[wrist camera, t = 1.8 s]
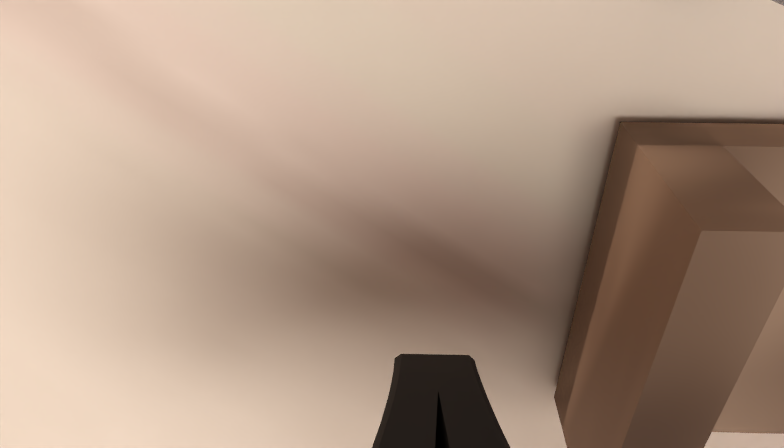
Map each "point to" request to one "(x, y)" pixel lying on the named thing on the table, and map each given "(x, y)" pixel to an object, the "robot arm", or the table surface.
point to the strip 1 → (681, 291)
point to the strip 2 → (779, 1)
